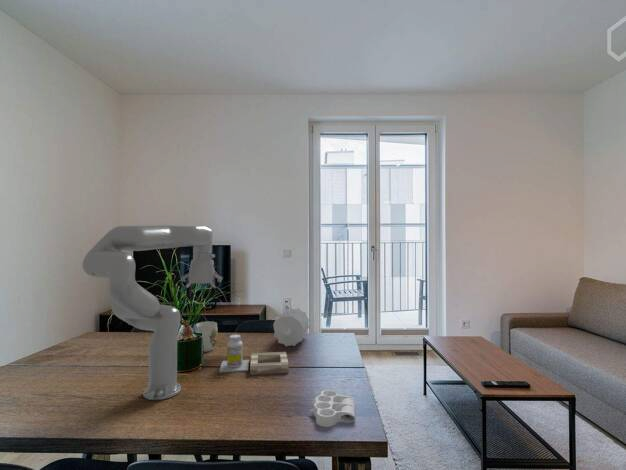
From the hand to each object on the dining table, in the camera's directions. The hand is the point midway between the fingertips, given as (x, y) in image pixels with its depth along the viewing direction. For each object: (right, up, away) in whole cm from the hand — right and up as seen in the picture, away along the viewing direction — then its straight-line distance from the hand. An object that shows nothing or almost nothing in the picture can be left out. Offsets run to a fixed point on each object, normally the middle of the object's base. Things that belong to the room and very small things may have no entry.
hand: (201, 297), depth 140 cm
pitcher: (-7, -32, +29) cm, 44 cm away
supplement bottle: (+13, -31, +5) cm, 34 cm away
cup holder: (+28, -32, +6) cm, 43 cm away
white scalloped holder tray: (+54, -32, -33) cm, 71 cm away
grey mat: (+13, -32, +5) cm, 35 cm away
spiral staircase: (+36, -33, +42) cm, 64 cm away
